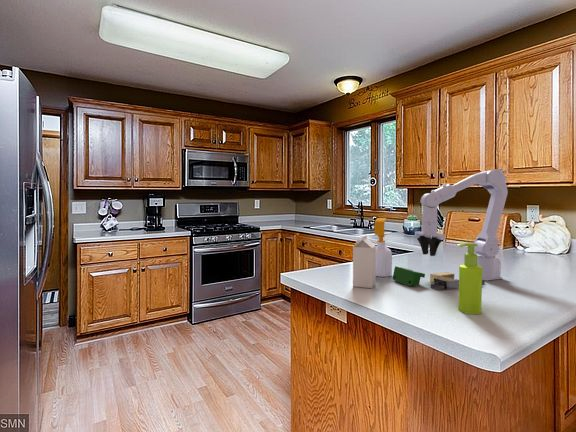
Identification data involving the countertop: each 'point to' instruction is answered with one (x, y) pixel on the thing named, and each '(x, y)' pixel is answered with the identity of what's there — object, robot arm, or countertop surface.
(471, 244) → the soap dispenser
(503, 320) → the countertop surface
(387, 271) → the soap bottle
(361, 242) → the milk carton
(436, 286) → the chain end blocks
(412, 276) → the green angular piece
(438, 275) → the light wood block
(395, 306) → the countertop surface
